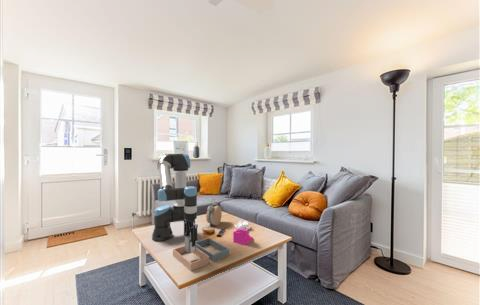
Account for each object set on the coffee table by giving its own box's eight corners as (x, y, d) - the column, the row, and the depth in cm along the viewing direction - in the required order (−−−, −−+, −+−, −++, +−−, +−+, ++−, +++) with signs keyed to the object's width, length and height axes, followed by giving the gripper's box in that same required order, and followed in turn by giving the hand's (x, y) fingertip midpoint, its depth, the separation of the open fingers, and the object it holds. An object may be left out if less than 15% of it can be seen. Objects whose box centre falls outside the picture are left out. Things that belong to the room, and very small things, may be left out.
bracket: (245, 245, 150) (245, 231, 150) (233, 242, 155) (233, 228, 155) (253, 239, 161) (253, 225, 161) (241, 236, 166) (241, 223, 166)
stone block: (184, 249, 131) (184, 237, 131) (191, 247, 134) (192, 234, 134) (188, 252, 127) (188, 239, 127) (195, 250, 131) (196, 237, 130)
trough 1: (172, 255, 135) (172, 249, 135) (190, 249, 143) (190, 243, 143) (190, 270, 118) (190, 263, 118) (209, 263, 126) (209, 256, 126)
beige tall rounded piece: (212, 221, 201) (212, 197, 201) (221, 222, 199) (221, 197, 199) (204, 227, 185) (204, 201, 185) (214, 228, 182) (214, 201, 182)
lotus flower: (233, 227, 186) (233, 217, 186) (250, 227, 187) (250, 217, 187) (233, 233, 172) (233, 222, 172) (251, 233, 173) (251, 222, 173)
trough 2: (193, 248, 145) (193, 242, 145) (208, 243, 153) (208, 237, 153) (213, 261, 128) (213, 255, 128) (228, 255, 136) (228, 248, 136)
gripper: (178, 209, 135) (178, 246, 135) (192, 217, 121) (192, 257, 122) (188, 207, 140) (188, 242, 140) (203, 214, 126) (203, 253, 127)
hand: (190, 249), depth 131 cm, fingers closed on stone block, 5 cm apart
